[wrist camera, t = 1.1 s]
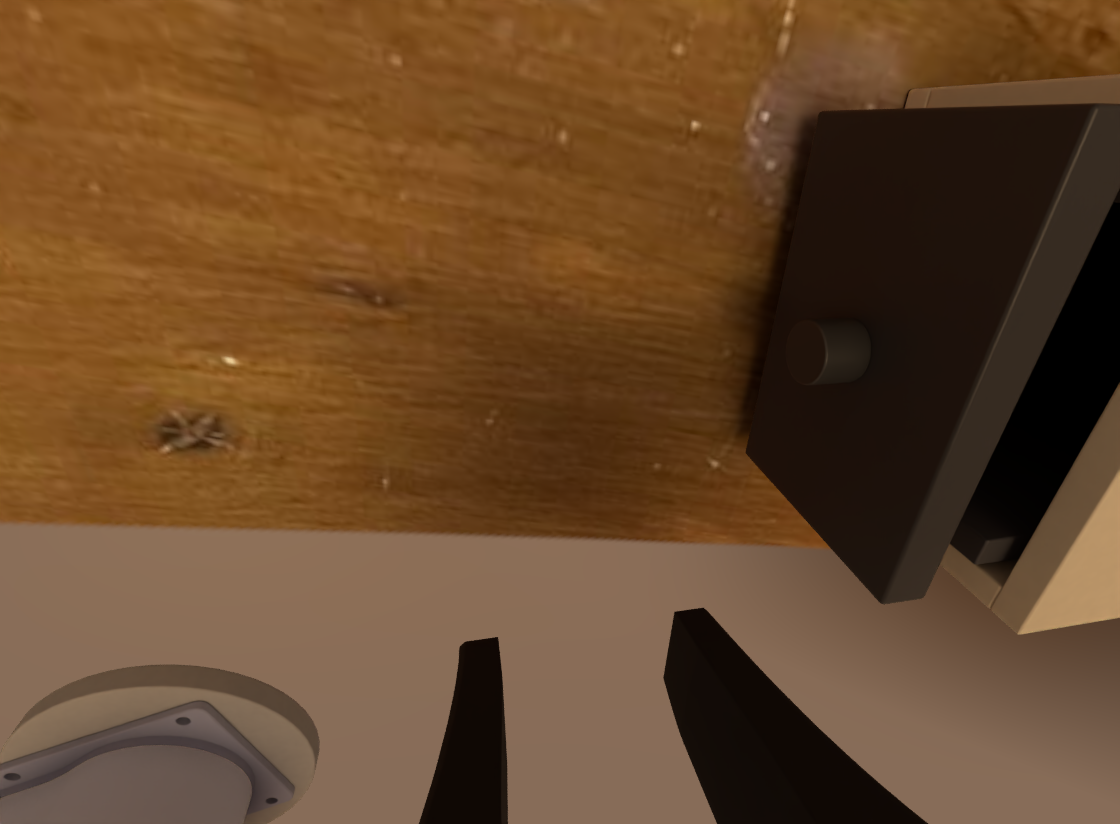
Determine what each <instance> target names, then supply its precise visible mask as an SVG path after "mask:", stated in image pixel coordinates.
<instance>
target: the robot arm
mask: <svg viewBox="0 0 1120 824" xmlns="http://www.w3.org/2000/svg"><path fill="white" fill-rule="evenodd" d="M664 682H665V685H666V688H667V692H668V696H669V699H670V703H671V706H672V710H673V713H674V716H675V719H676V722H677V725H678V729H679V732H680V735H681V737H682V739H683V742H684V745H685V747H686V750H687V752H688V755H689V757H690V759H691V762H692V764H693V766H694V769H695V772H696V774H697V776H698V779H699V781H700V784H701V786H702V788H703V791H704V793H705V796H706V798H707V800H708V803H709V805H710V808H711V810H712V813H713V815H714V817H715V820H716V822H717V824H928V823H927V822H925V821H924V820H923V819H921V818H920V817H919V816H918V815H917V814H915V813H914V812H913V811H912V810H910V809H909V808H908V807H907V806H905V805H904V804H903V803H902V802H901V801H900V800H898V799H897V798H896V797H895V796H894V795H892V794H891V793H890V792H889V791H888V790H887V789H885V788H884V787H883V786H882V785H881V784H880V783H878V782H877V781H876V780H875V779H874V778H873V777H872V776H870V775H869V774H868V773H867V772H866V771H865V770H864V769H862V768H861V767H860V766H859V765H858V764H857V763H856V762H855V761H854V760H852V759H851V758H850V757H849V756H848V755H847V754H846V753H845V752H844V751H843V750H842V749H840V748H839V747H838V746H837V745H836V744H835V743H834V742H833V741H832V740H831V739H830V738H829V737H828V736H827V735H826V734H824V733H823V732H822V731H821V730H820V729H819V728H818V727H817V726H816V725H815V724H814V723H813V722H812V721H811V720H810V719H809V718H808V717H807V716H806V715H805V714H804V713H803V712H802V711H801V710H800V709H799V708H798V707H797V706H796V705H795V704H794V703H793V702H792V701H791V700H790V699H789V698H788V697H787V696H786V695H785V694H784V693H783V692H782V691H781V690H780V689H779V688H778V687H777V686H776V685H775V684H774V683H773V682H772V681H771V680H770V679H769V678H768V677H767V676H766V675H765V674H764V672H763V671H762V670H760V668H759V667H758V666H757V665H756V664H755V663H754V662H753V661H752V660H751V659H750V657H749V656H748V655H747V654H746V653H745V652H744V651H743V650H742V649H741V648H740V647H739V646H738V645H737V643H736V642H735V641H734V640H733V639H732V638H731V637H730V636H729V635H728V634H727V632H726V631H725V630H724V629H723V628H722V627H721V626H720V625H719V623H718V622H717V621H716V620H715V619H714V618H713V617H712V616H711V615H710V613H709V612H708V611H707V610H705V609H704V608H698V609H691V610H684V611H677V612H675V613H674V618H673V625H672V630H671V637H670V642H669V648H668V654H667V660H666V666H665V672H664ZM294 791H295V787H294V785H293V784H291V783H290V782H289V781H288V780H287V779H286V778H285V777H284V776H283V775H282V774H281V773H280V772H279V771H278V770H277V769H276V768H275V767H274V766H273V765H272V764H271V763H270V762H269V761H268V760H267V759H266V758H265V757H264V756H263V755H262V754H261V753H260V752H258V751H257V750H256V749H255V748H254V747H253V746H252V745H251V744H250V743H249V742H248V741H247V740H246V739H245V738H244V737H243V736H242V735H241V734H240V733H239V732H238V731H237V730H236V729H235V728H234V727H233V726H232V725H231V724H230V723H229V722H228V721H227V720H225V719H224V718H223V717H222V716H221V715H220V714H219V713H218V712H217V711H216V710H215V709H214V708H213V707H212V706H211V705H210V704H208V703H207V702H204V701H195V702H191V703H188V704H185V705H182V706H179V707H176V708H172V709H169V710H166V711H163V712H160V713H157V714H154V715H151V716H148V717H145V718H142V719H139V720H135V721H132V722H129V723H126V724H123V725H120V726H117V727H114V728H111V729H108V730H105V731H102V732H99V733H95V734H92V735H89V736H86V737H83V738H80V739H77V740H74V741H71V742H68V743H65V744H62V745H58V746H55V747H52V748H49V749H46V750H43V751H40V752H37V753H34V754H31V755H28V756H25V757H22V758H18V759H15V760H12V761H9V762H6V763H3V764H0V824H244V820H245V817H246V815H248V814H251V813H254V812H257V811H260V810H263V809H266V808H269V807H272V806H275V805H278V804H281V803H284V802H287V801H289V800H291V799H292V798H293V795H294ZM507 801H508V800H507V753H506V735H505V717H504V700H503V682H502V670H501V660H500V651H499V642H498V637H495V638H488V639H482V640H474V641H467V642H464V643H463V644H462V645H461V646H460V649H459V663H458V672H457V678H456V685H455V691H454V696H453V701H452V705H451V710H450V715H449V719H448V724H447V728H446V732H445V735H444V739H443V743H442V747H441V751H440V755H439V759H438V763H437V766H436V770H435V774H434V777H433V780H432V784H431V787H430V790H429V793H428V797H427V800H426V803H425V807H424V809H423V813H422V816H421V819H420V822H419V824H508V805H507V803H508V802H507Z"/></svg>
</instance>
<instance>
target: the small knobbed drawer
mask: <svg viewBox="0 0 1120 824" xmlns="http://www.w3.org/2000/svg"><path fill="white" fill-rule="evenodd" d="M1119 383H1120V104H1111V103H1082V104H1047V105H1012V106H977V107H942V108H907V109H873V110H838V111H822V112H820V113H819V115H818V120H817V124H816V129H815V133H814V138H813V143H812V147H811V152H810V157H809V161H808V166H807V170H806V175H805V180H804V184H803V189H802V194H801V198H800V203H799V207H798V212H797V217H796V221H795V226H794V231H793V235H792V240H791V245H790V249H789V254H788V258H787V263H786V268H785V272H784V277H783V282H782V286H781V291H780V295H779V300H778V305H777V309H776V314H775V319H774V323H773V328H772V332H771V337H770V342H769V346H768V351H767V356H766V360H765V365H764V369H763V374H762V379H761V383H760V388H759V393H758V397H757V402H756V406H755V411H754V416H753V420H752V425H751V430H750V434H749V439H748V444H747V448H746V454H747V455H748V456H749V457H750V459H751V460H752V461H753V462H754V463H755V464H756V465H757V466H758V467H759V469H760V470H761V471H762V472H763V473H764V474H765V475H766V476H767V477H768V479H769V480H770V481H771V482H772V483H773V484H774V485H775V486H776V488H777V489H778V490H779V491H780V492H781V493H782V494H783V495H784V496H785V498H786V499H787V500H788V501H789V502H790V503H791V504H792V505H793V506H794V508H795V509H796V510H797V511H798V512H799V513H800V514H801V515H802V517H803V518H804V519H805V520H806V521H807V522H808V523H809V524H810V525H811V527H812V528H813V529H814V530H815V531H816V532H817V533H818V534H819V535H820V537H821V538H822V539H823V540H824V541H825V542H826V543H827V544H828V546H829V547H830V548H831V549H832V550H833V551H834V552H835V553H836V554H837V556H838V557H840V559H841V560H842V561H843V562H844V563H845V564H846V566H847V567H848V568H849V569H850V570H851V571H852V572H853V573H854V575H855V576H856V577H857V578H858V579H859V580H860V581H861V582H862V583H863V585H864V586H865V587H866V588H867V589H868V590H869V591H870V592H871V593H872V594H873V595H874V597H875V598H876V599H877V600H878V601H879V602H880V603H881V604H890V603H896V602H903V601H909V600H916V599H921V598H923V597H924V596H925V594H926V592H927V590H928V587H929V586H930V583H931V581H932V579H933V577H934V575H935V573H936V571H937V569H938V567H939V565H940V563H941V560H942V558H943V556H944V554H945V552H946V550H947V548H948V546H949V544H951V545H952V546H953V547H954V548H955V549H957V550H958V551H959V552H960V553H961V554H963V555H964V556H965V557H966V558H967V559H968V560H970V561H971V562H972V563H973V564H975V565H978V564H985V563H992V562H999V561H1006V560H1014V559H1019V558H1020V556H1021V554H1022V553H1023V551H1024V549H1025V547H1026V545H1027V544H1028V542H1029V540H1030V538H1031V537H1032V535H1033V533H1034V531H1035V530H1036V528H1037V526H1038V524H1039V523H1040V521H1041V519H1042V517H1043V516H1044V514H1045V512H1046V510H1047V509H1048V507H1049V505H1050V503H1051V502H1052V500H1053V498H1054V496H1055V495H1056V493H1057V491H1058V489H1059V488H1060V486H1061V484H1062V482H1063V481H1064V479H1065V477H1066V475H1067V474H1068V472H1069V470H1070V468H1071V467H1072V465H1073V463H1074V461H1075V460H1076V458H1077V456H1078V454H1079V453H1080V451H1081V449H1082V447H1083V446H1084V444H1085V442H1086V440H1087V439H1088V437H1089V435H1090V433H1091V432H1092V430H1093V428H1094V426H1095V425H1096V423H1097V421H1098V419H1099V418H1100V416H1101V414H1102V412H1103V411H1104V409H1105V407H1106V405H1107V404H1108V402H1109V400H1110V398H1111V397H1112V395H1113V393H1114V391H1115V390H1116V388H1117V386H1118V384H1119Z"/></svg>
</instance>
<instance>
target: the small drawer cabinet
mask: <svg viewBox="0 0 1120 824" xmlns="http://www.w3.org/2000/svg"><path fill="white" fill-rule="evenodd" d="M1082 103H1111V104H1120V74H1117V75H1103V76H1089V77H1074V78H1060V79H1046V80H1032V81H1018V82H1004V83H989V84H975V85H961V86H947V87H936V88H919V89H912V90H910V92H909V94H908V98H907V101H906V105H905V109H907V108H942V107H977V106H1012V105H1047V104H1082ZM940 565H941V566H942V567H943V568H945V569H946V570H947V571H948V572H949V573H950V574H951V575H952V576H954V577H955V578H956V579H957V580H958V581H959V582H960V583H961V584H962V585H963V586H965V587H966V588H967V589H968V590H969V591H970V592H971V593H972V594H973V595H974V596H976V597H977V598H978V599H979V600H980V601H981V602H982V603H983V604H985V605H986V606H987V607H988V608H991V611H992V612H994V614H996V615H997V616H998V617H999V618H1000V619H1001V620H1002V621H1003V622H1004V623H1006V624H1007V625H1008V626H1009V627H1010V628H1011V629H1012V630H1013V631H1015V632H1016V633H1017V634H1025V633H1031V632H1037V631H1043V630H1048V629H1055V628H1061V627H1067V626H1073V625H1079V624H1084V623H1090V622H1096V621H1102V620H1108V619H1114V618H1119V617H1120V383H1119V384H1118V386H1117V388H1116V390H1115V391H1114V393H1113V395H1112V397H1111V398H1110V400H1109V402H1108V404H1107V405H1106V407H1105V409H1104V411H1103V412H1102V414H1101V416H1100V418H1099V419H1098V421H1097V423H1096V425H1095V426H1094V428H1093V430H1092V432H1091V433H1090V435H1089V437H1088V439H1087V440H1086V442H1085V444H1084V446H1083V447H1082V449H1081V451H1080V453H1079V454H1078V456H1077V458H1076V460H1075V461H1074V463H1073V465H1072V467H1071V468H1070V470H1069V472H1068V474H1067V475H1066V477H1065V479H1064V481H1063V482H1062V484H1061V486H1060V488H1059V489H1058V491H1057V493H1056V495H1055V496H1054V498H1053V500H1052V502H1051V503H1050V505H1049V507H1048V509H1047V510H1046V512H1045V514H1044V516H1043V517H1042V519H1041V521H1040V523H1039V524H1038V526H1037V528H1036V530H1035V531H1034V533H1033V535H1032V537H1031V538H1030V540H1029V542H1028V544H1027V545H1026V547H1025V549H1024V551H1023V553H1022V554H1021V556H1020V558H1019V559H1014V560H1006V561H999V562H992V563H985V564H978V565H975V564H973V563H972V562H971V561H970V560H968V559H967V558H966V557H965V556H964V555H963V554H961V553H960V552H959V551H958V550H957V549H955V548H954V547H953V546H952V545H951V544H949V546H948V548H947V550H946V552H945V554H944V556H943V558H942V560H941V563H940Z"/></svg>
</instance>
